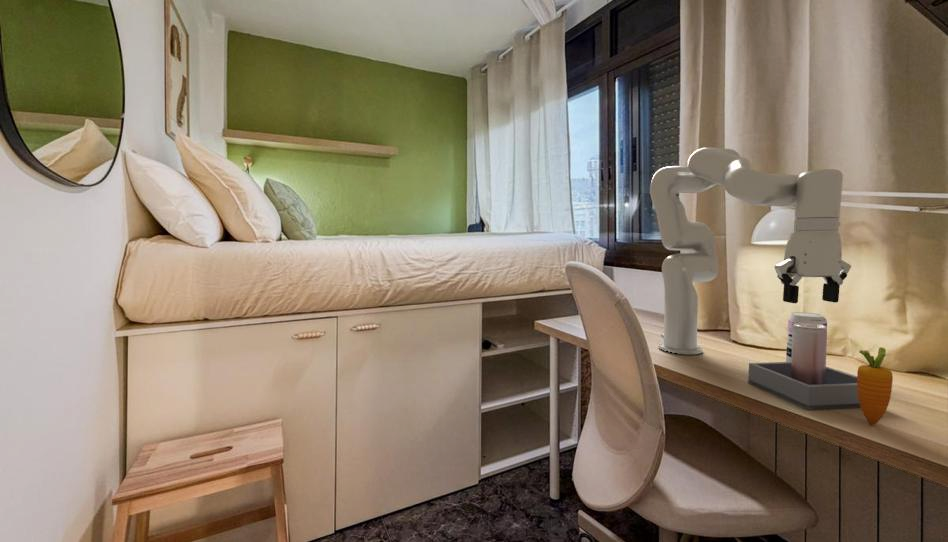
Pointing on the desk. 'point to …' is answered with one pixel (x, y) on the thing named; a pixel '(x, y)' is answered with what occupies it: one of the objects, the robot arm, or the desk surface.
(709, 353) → the desk surface
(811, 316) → the supplement can
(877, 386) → the carrot
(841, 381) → the tray
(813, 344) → the beverage can
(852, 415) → the desk surface
